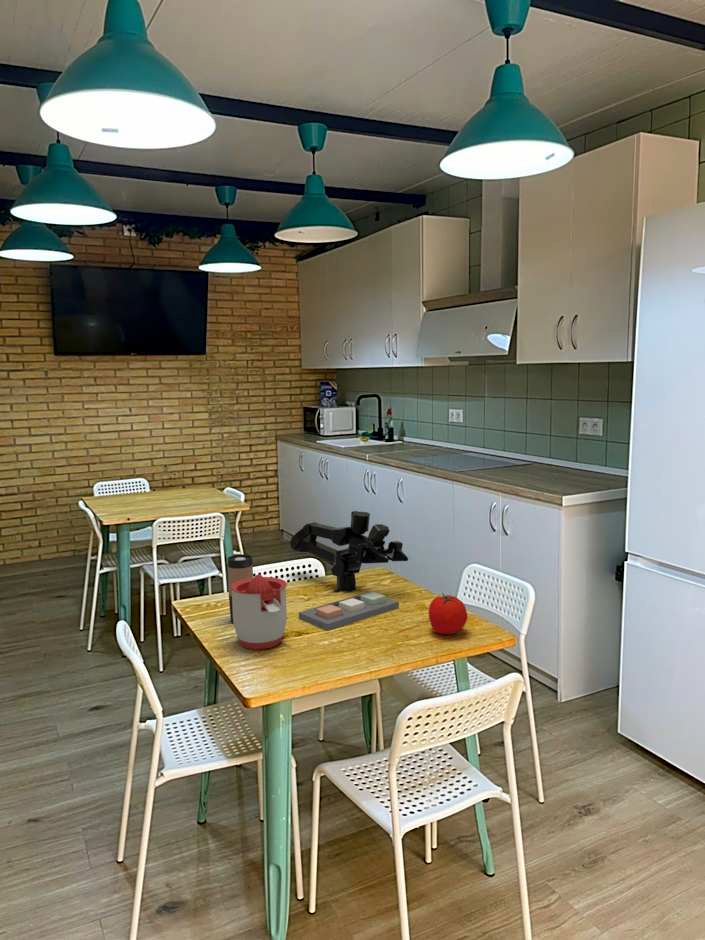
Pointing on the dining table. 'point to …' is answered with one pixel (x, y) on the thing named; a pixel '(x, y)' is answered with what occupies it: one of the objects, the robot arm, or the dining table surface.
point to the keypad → (347, 613)
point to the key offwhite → (351, 605)
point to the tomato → (447, 614)
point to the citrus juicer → (259, 611)
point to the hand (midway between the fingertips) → (398, 560)
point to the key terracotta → (329, 612)
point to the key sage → (373, 598)
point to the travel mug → (238, 573)
